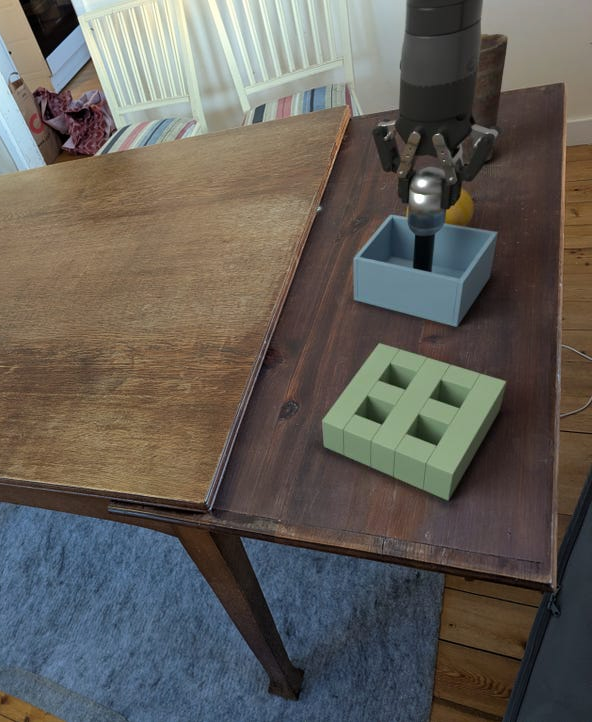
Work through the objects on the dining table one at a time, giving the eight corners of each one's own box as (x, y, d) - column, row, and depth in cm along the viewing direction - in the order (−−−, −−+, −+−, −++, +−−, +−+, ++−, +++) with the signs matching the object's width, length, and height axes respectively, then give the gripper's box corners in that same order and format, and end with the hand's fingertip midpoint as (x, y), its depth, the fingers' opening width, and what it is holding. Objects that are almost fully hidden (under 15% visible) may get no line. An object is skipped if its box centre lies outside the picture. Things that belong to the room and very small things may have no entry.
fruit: (397, 245, 95) (400, 200, 89) (415, 216, 98) (418, 172, 93) (460, 254, 90) (466, 207, 84) (476, 223, 93) (483, 176, 88)
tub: (490, 277, 85) (498, 232, 80) (456, 327, 80) (463, 282, 75) (388, 256, 94) (390, 214, 89) (353, 300, 89) (353, 258, 84)
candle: (464, 175, 102) (479, 53, 89) (432, 161, 108) (442, 44, 95) (502, 157, 103) (523, 33, 90) (468, 144, 109) (483, 25, 95)
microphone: (443, 280, 86) (456, 162, 74) (430, 299, 84) (441, 181, 72) (411, 273, 89) (419, 158, 76) (398, 291, 87) (404, 176, 75)
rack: (499, 410, 70) (506, 381, 67) (448, 501, 64) (453, 474, 61) (378, 370, 79) (379, 342, 75) (323, 446, 73) (321, 420, 70)
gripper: (525, 51, 63) (500, 195, 74) (389, 52, 72) (385, 180, 83) (498, 84, 60) (476, 229, 71) (358, 80, 69) (359, 210, 80)
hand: (427, 202), depth 77 cm, fingers closed on microphone, 4 cm apart
